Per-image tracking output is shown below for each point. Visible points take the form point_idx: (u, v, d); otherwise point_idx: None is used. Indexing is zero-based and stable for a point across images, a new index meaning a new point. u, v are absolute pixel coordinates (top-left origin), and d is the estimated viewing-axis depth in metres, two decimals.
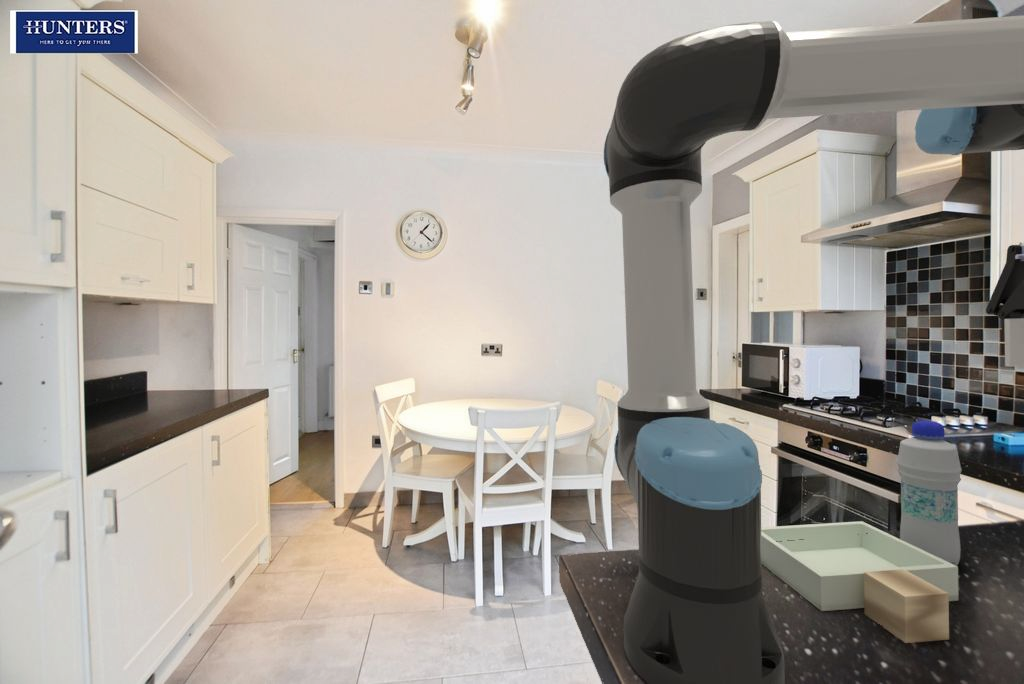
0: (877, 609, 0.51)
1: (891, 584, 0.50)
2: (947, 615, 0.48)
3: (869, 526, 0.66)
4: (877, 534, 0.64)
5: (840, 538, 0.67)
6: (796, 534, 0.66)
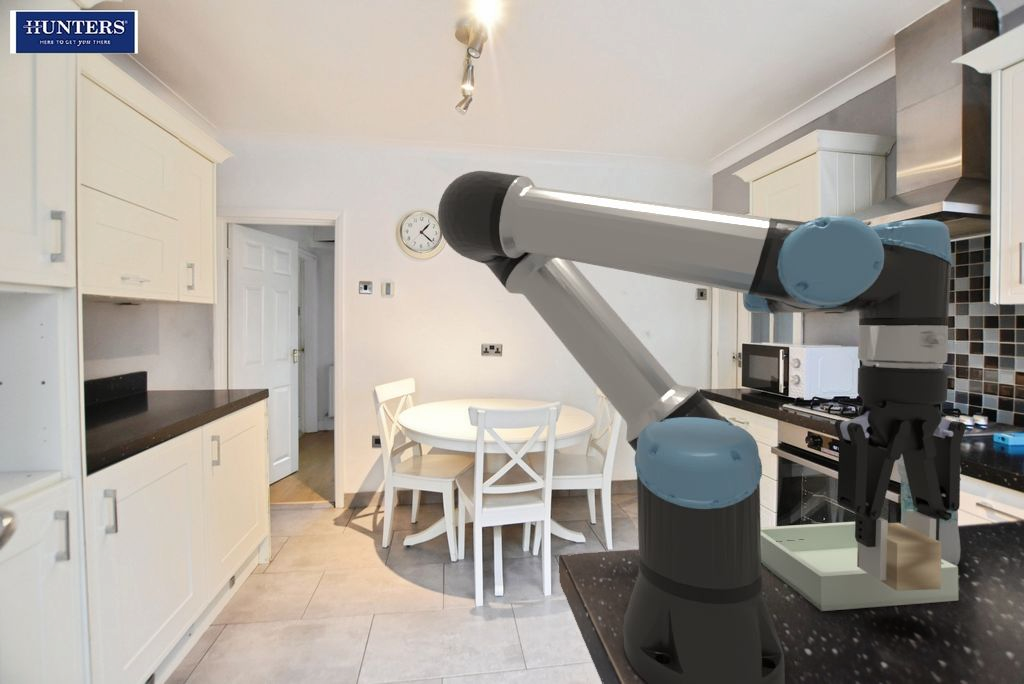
0: None
1: None
2: (940, 564, 0.48)
3: None
4: None
5: (840, 538, 0.67)
6: (796, 534, 0.66)
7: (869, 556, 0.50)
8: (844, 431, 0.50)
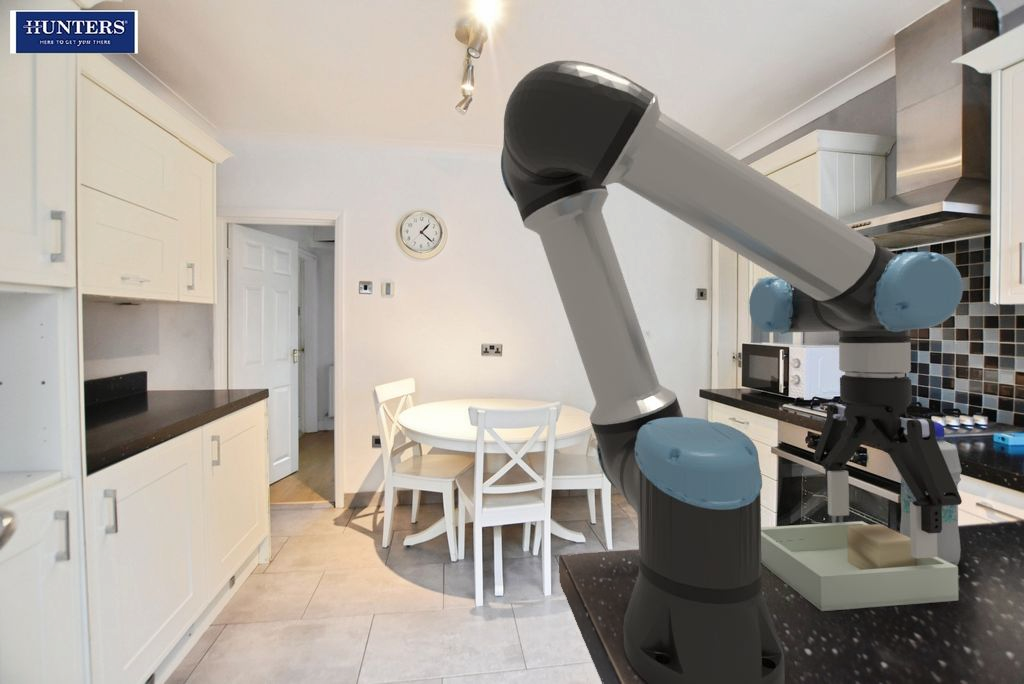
0: (892, 567, 0.58)
1: (892, 538, 0.59)
2: None
3: None
4: None
5: (840, 538, 0.67)
6: (796, 534, 0.66)
7: (926, 541, 0.54)
8: (925, 427, 0.54)
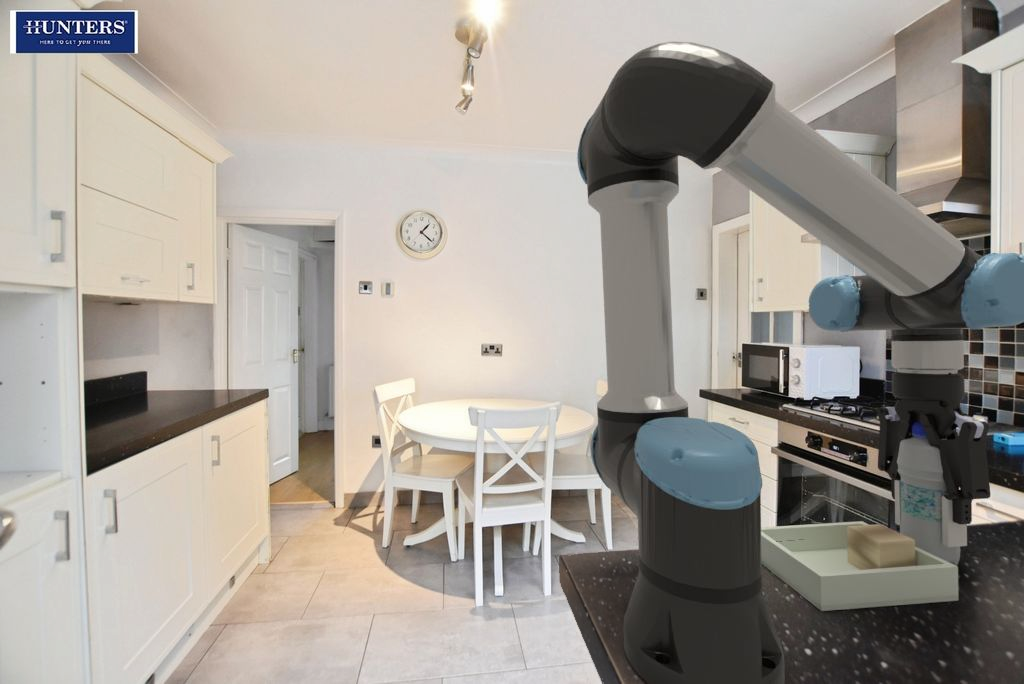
0: (892, 567, 0.58)
1: (892, 538, 0.59)
2: None
3: None
4: None
5: (840, 538, 0.67)
6: (796, 534, 0.66)
7: (957, 531, 0.60)
8: (979, 430, 0.57)
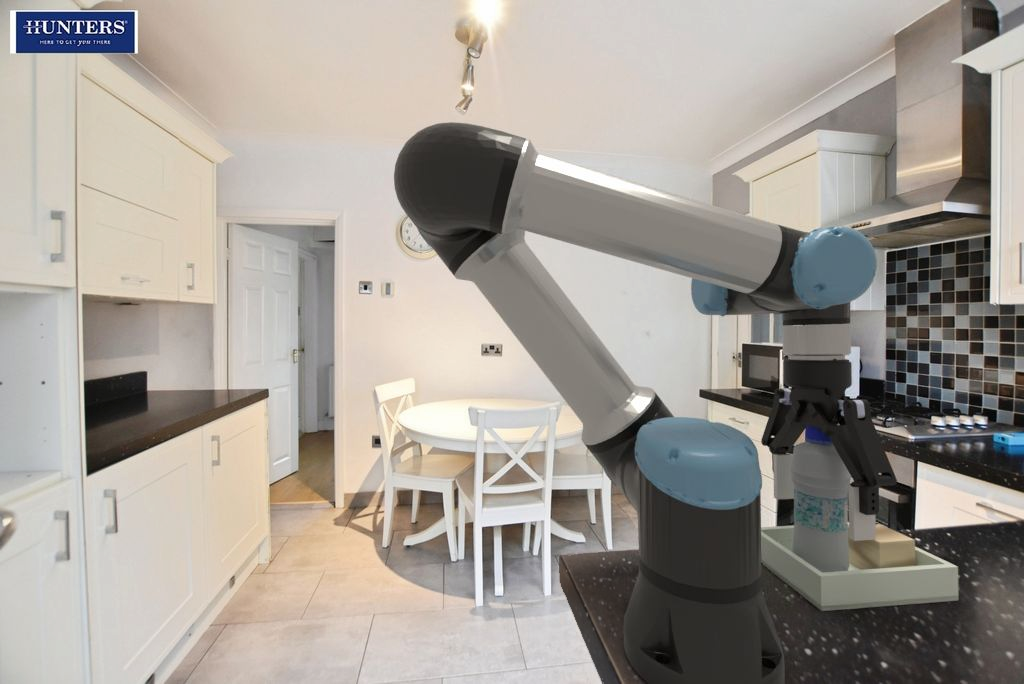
0: (892, 567, 0.58)
1: (892, 538, 0.59)
2: None
3: None
4: None
5: None
6: None
7: (864, 523, 0.53)
8: (860, 407, 0.53)
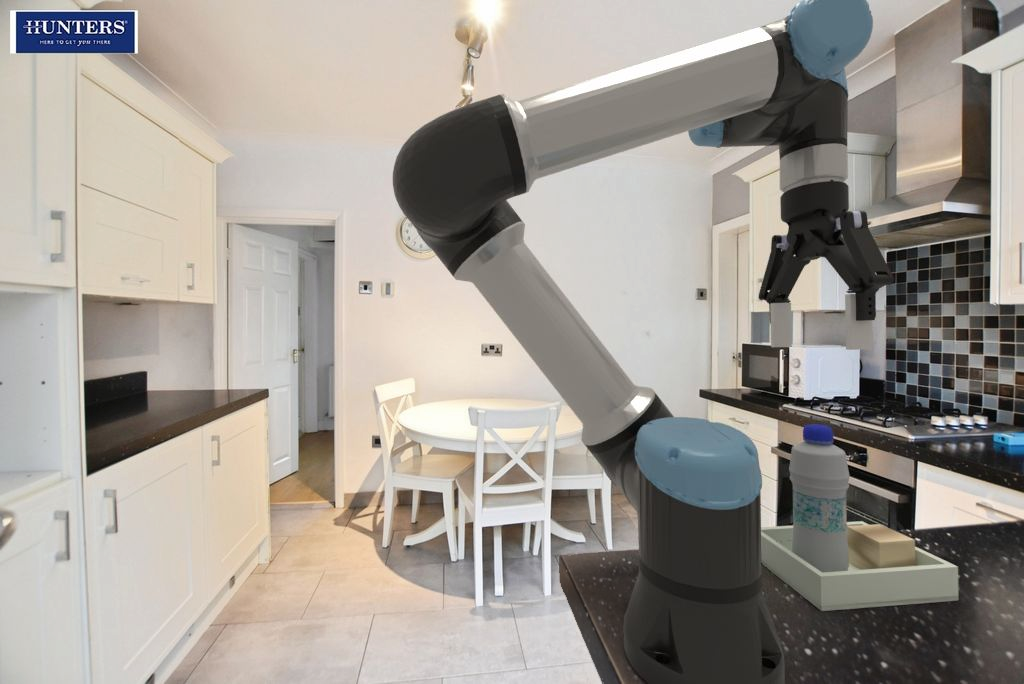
0: (892, 567, 0.58)
1: (892, 538, 0.59)
2: None
3: None
4: None
5: None
6: None
7: (861, 332, 0.53)
8: (857, 216, 0.53)
